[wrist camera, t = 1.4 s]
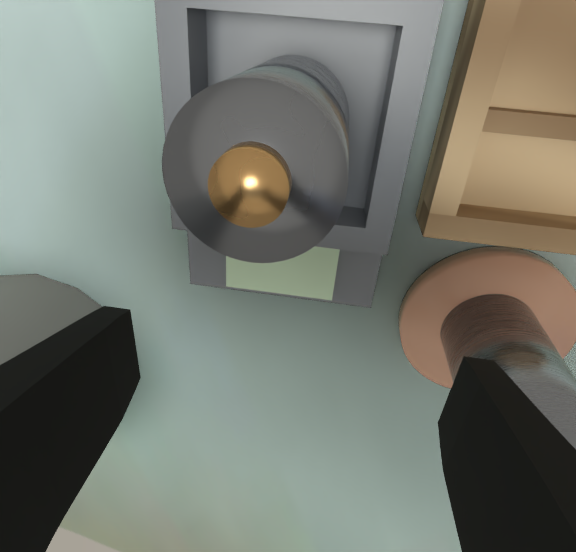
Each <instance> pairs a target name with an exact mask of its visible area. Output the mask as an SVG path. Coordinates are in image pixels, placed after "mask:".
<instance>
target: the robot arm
mask: <svg viewBox="0 0 576 552" xmlns="http://www.w3.org/2000/svg"><path fill="white" fill-rule="evenodd" d="M139 380H140V371H139V365H138V358H137V352H136V345H135V338H134V332H133V325H132V319H131V312H130V310H129V309H121V308H114V307H107V306H103V307H101V308H99V309H97V310H95V311H93V312H91V313H90V314H88V315H86V316H84V317H83V318H81V319H79V320H77V321H76V322H74V323H72V324H70V325H69V326H67V327H65V328H64V329H62V330H60V331H58V332H57V333H55V334H53V335H52V336H50V337H48V338H47V339H45V340H43V341H41V342H40V343H38V344H36V345H34V346H33V347H31V348H29V349H27V350H26V351H24V352H22V353H20V354H19V355H17V356H15V357H14V358H12V359H10V360H8V361H6V362H5V363H3V364H1V365H0V552H46V550H47V548H48V546H49V544H50V541H51V540H52V538H53V536H54V534H55V532H56V530H57V529H58V527H59V525H60V523H61V522H62V520H63V518H64V516H65V514H66V513H67V511H68V509H69V508H70V506H71V504H72V503H73V501H74V499H75V498H76V496H77V494H78V493H79V491H80V489H81V488H82V486H83V484H84V483H85V481H86V479H87V478H88V476H89V474H90V473H91V471H92V469H93V468H94V466H95V464H96V463H97V461H98V460H99V458H100V456H101V455H102V453H103V451H104V449H105V448H106V446H107V444H108V443H109V441H110V439H111V438H112V436H113V434H114V433H115V431H116V429H117V427H118V426H119V424H120V422H121V420H122V419H123V416H124V414H125V412H126V410H127V408H128V406H129V403H130V401H131V399H132V396H133V394H134V392H135V389H136V387H137V385H138V382H139ZM438 427H439V438H440V448H441V457H442V465H443V472H444V476H445V481H446V485H447V490H448V494H449V498H450V503H451V507H452V511H453V515H454V520H455V524H456V528H457V532H458V537H459V541H460V545H461V549H462V552H576V449H575V448H574V447H573V446H572V445H571V444H570V443H569V442H568V441H567V440H566V438H565V437H564V436H563V435H562V434H561V433H560V432H559V431H558V430H557V429H556V428H555V427H554V426H553V424H552V423H551V422H550V421H549V420H548V419H547V418H546V417H545V416H544V415H543V414H542V412H541V411H540V410H539V409H538V408H537V407H536V406H535V405H534V404H533V403H532V401H531V400H530V399H529V398H528V397H527V396H526V395H525V394H524V393H523V391H522V390H521V389H520V388H519V387H518V386H517V385H516V384H515V383H514V381H513V380H512V379H511V378H510V377H509V376H508V375H507V374H506V373H505V372H504V371H503V369H502V368H501V367H500V366H499V365H498V364H497V363H496V362H495V361H494V360H487V359H480V358H473V357H466V356H463V359H462V362H461V364H460V367H459V369H458V372H457V375H456V377H455V380H454V382H453V385H452V388H451V390H450V393H449V395H448V398H447V401H446V403H445V406H444V408H443V411H442V414H441V416H440V419H439V421H438Z"/></svg>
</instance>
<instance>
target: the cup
mask: <svg viewBox="0 0 576 552" xmlns="http://www.w3.org/2000/svg"><path fill="white" fill-rule="evenodd" d="M101 307H102V306H101V305H99V304H98V303H97V302H95V301H94V300H93V299H91V298H90V297H89V296H87V295H86V294H85V293H83V292H82V291H81V290H79V289H78V288H75V287H72V286H69V285H67V284H64V283H61V282H58V281H55V280H52V279H49V278H47V277H44V276H41V275H38V274H26V275H2V276H0V365H1V364H3V363H5V362H6V361H8V360H10V359H12V358H14V357H15V356H17V355H19V354H20V353H22V352H24V351H26V350H27V349H29V348H31V347H33V346H34V345H36V344H38V343H40V342H41V341H43V340H45V339H47V338H48V337H50V336H52V335H53V334H55V333H57V332H58V331H60V330H62V329H64V328H65V327H67V326H69V325H70V324H72V323H74V322H76V321H77V320H79V319H81V318H83V317H84V316H86V315H88V314H90V313H91V312H93V311H95V310H97V309H99V308H101Z"/></svg>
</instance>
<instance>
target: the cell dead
mask: <svg viewBox="0 0 576 552" xmlns="http://www.w3.org/2000/svg"><path fill="white" fill-rule="evenodd" d="M440 336H441V341H442V345H443V348H444V352H445V355H446V359H447V362H448V366H449V369H450V373H451V376H452V380H453V382H454V380H455V377H456V375H457V372H458V369H459V367H460V364H461V362H462V359H463V356H466V357H473V358H480V359H487V360H494V361H495V362H496V363H497V364H498V365H499V366H500V367H501V368H502V369H503V371H504V372H505V373H506V374H507V375H508V376H509V377H510V378H511V379H512V380H513V381H514V383H515V384H516V385H517V386H518V387H519V388H520V389H521V390H522V391H523V393H524V394H525V395H526V396H527V397H528V398H529V399H530V400H531V401H532V403H533V404H534V405H535V406H536V407H537V408H538V409H539V410H540V411H541V412H542V414H543V415H544V416H545V417H546V418H547V419H548V420H549V421H550V422H551V423H552V424H553V426H554V427H555V428H556V429H557V430H558V431H559V432H560V433H561V434H562V435H563V436H564V437H565V438H566V440H567V441H568V442H569V443H570V444H571V445H572V446H573V447H574V448H575V449H576V379H575V378H574V376H573V374H572V373H571V371H570V370H569V368H568V366H567V365H566V363H565V362H564V360H563V359H562V357H561V355H560V354H559V352H558V351H557V349H556V348H555V346H554V344H553V343H552V341H551V340H550V338H549V336H548V335H547V333H546V332H545V330H544V329H543V327H542V325H541V324H540V322H539V321H538V319H537V317H536V316H535V314H534V313H533V311H532V310H531V308H530V307H529V306H528V305H527V304H525V303H524V302H523V301H521V300H519V299H517V298H515V297H512V296H509V295H504V294H486V295H480V296H476V297H473V298H470V299H468V300H466V301H464V302H462V303H460V304H459V305H457V306H456V307H455V308H454V309H453V310H451V311H450V312H449V314H448V315H447V316H446V318H445V319H444V321H443V324H442V326H441V332H440Z"/></svg>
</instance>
